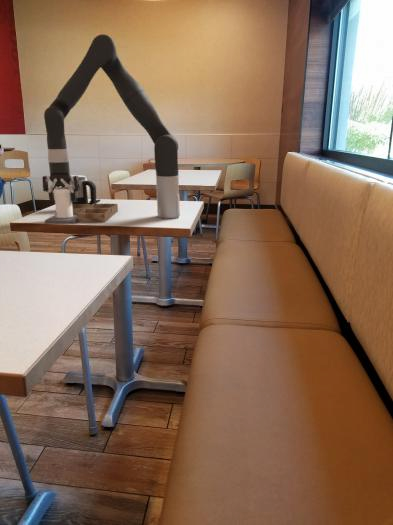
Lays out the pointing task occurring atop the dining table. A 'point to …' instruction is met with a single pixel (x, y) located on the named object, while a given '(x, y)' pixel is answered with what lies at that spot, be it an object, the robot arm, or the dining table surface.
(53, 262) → the dining table surface
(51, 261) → the dining table surface
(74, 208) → the frame
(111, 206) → the frame
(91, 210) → the frame
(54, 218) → the mat
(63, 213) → the can
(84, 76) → the robot arm
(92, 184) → the milk frother
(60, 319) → the dining table surface
